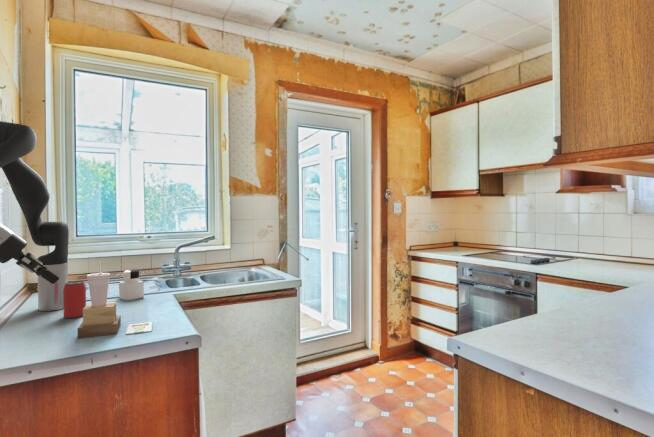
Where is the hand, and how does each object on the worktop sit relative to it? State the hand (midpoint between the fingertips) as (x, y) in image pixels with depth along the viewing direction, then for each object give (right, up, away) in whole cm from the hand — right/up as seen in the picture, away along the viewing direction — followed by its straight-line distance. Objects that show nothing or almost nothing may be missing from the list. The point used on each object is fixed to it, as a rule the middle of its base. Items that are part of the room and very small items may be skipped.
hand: (53, 279), depth 104 cm
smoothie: (+8, -10, +8) cm, 15 cm away
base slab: (+8, -17, +9) cm, 21 cm away
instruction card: (+19, -17, +11) cm, 28 cm away
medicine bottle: (-6, -17, +53) cm, 56 cm away
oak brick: (+8, -14, +9) cm, 19 cm away
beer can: (-11, -17, +25) cm, 33 cm away
